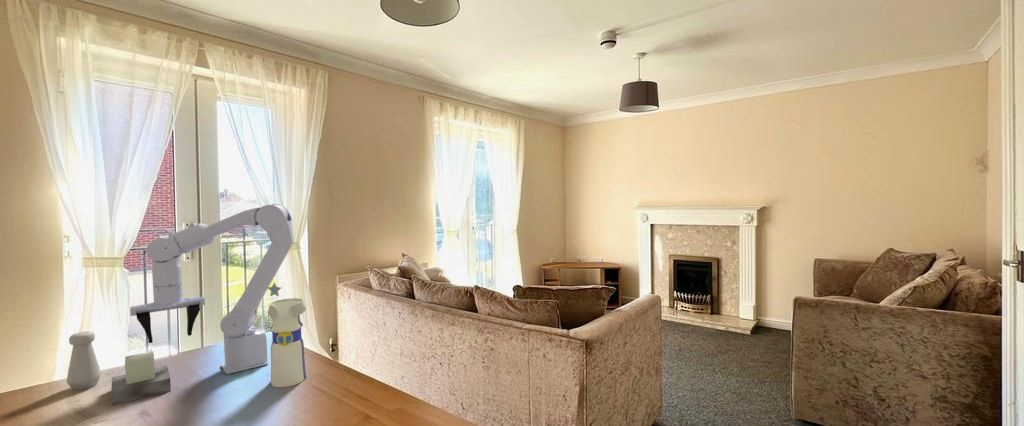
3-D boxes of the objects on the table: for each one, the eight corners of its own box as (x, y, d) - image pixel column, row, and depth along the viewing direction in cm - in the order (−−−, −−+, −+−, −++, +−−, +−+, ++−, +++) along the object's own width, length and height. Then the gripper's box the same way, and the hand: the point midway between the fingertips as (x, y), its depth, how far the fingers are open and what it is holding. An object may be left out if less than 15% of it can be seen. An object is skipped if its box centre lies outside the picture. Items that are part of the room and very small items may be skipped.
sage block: (154, 371, 103) (153, 351, 103) (155, 378, 99) (154, 357, 99) (126, 377, 100) (125, 356, 100) (126, 384, 96) (124, 362, 96)
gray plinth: (167, 377, 107) (166, 365, 107) (170, 390, 100) (170, 378, 99) (112, 389, 100) (112, 377, 100) (112, 405, 93) (111, 391, 93)
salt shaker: (79, 393, 99) (76, 337, 98) (60, 391, 100) (57, 336, 99) (108, 382, 104) (105, 329, 104) (89, 380, 105) (86, 328, 105)
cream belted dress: (306, 384, 102) (303, 280, 101) (266, 390, 99) (262, 283, 98) (310, 370, 110) (307, 274, 109) (273, 375, 107) (269, 277, 106)
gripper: (129, 292, 99) (132, 349, 100) (205, 282, 109) (207, 335, 110) (128, 287, 105) (131, 342, 105) (201, 278, 114) (203, 328, 115)
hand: (170, 338), depth 108 cm, fingers open, 7 cm apart
